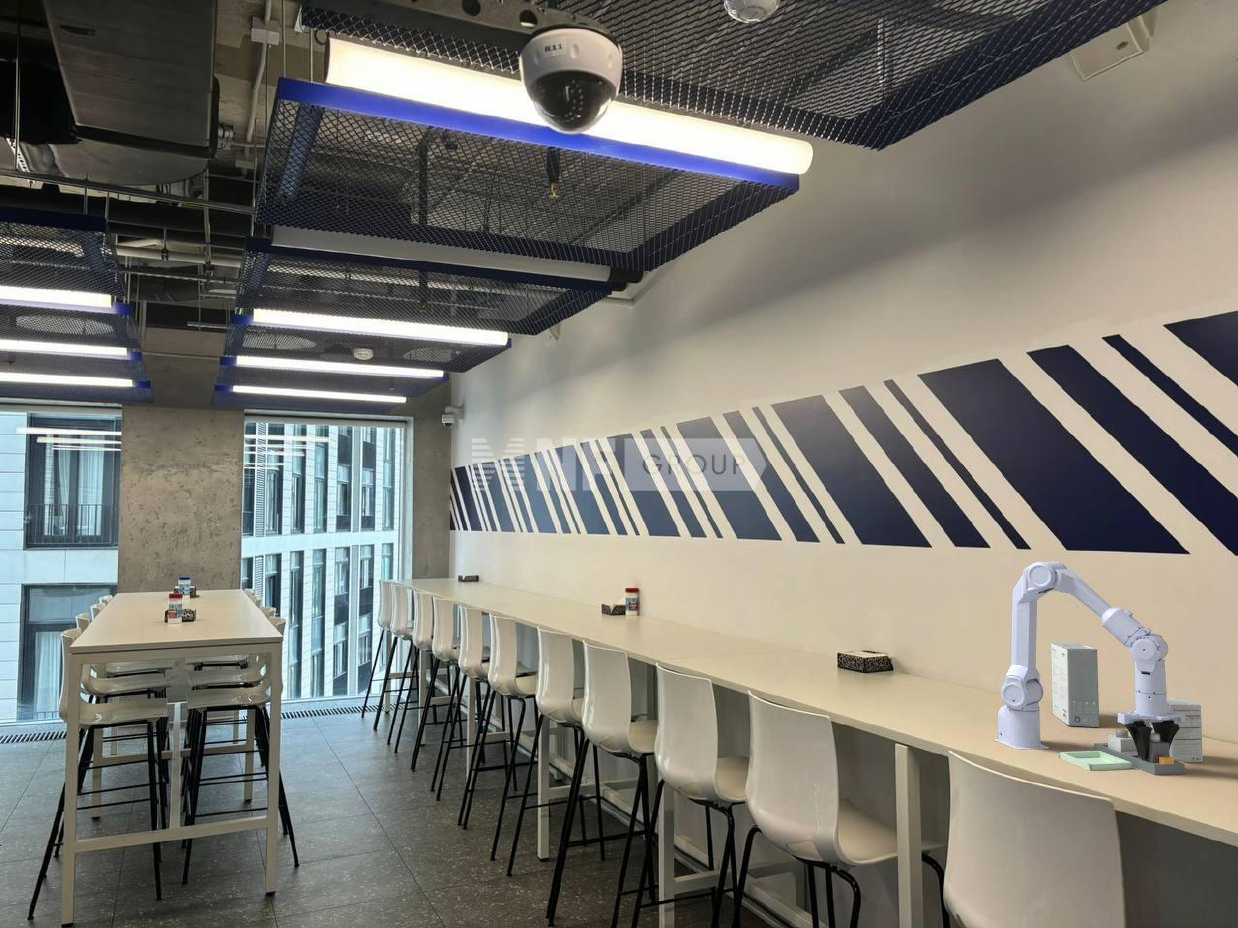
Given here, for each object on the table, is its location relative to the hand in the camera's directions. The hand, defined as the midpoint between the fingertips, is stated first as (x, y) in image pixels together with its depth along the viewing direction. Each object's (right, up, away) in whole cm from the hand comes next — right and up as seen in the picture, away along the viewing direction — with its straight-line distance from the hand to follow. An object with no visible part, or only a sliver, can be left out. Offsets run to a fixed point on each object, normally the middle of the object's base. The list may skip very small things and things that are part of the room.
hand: (1152, 757), depth 187 cm
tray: (-10, -3, +4) cm, 11 cm away
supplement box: (+12, -4, +10) cm, 16 cm away
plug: (0, -2, 0) cm, 2 cm away
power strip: (-1, -3, +4) cm, 5 cm away
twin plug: (-1, -4, +9) cm, 9 cm away
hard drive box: (+8, -6, +47) cm, 49 cm away
